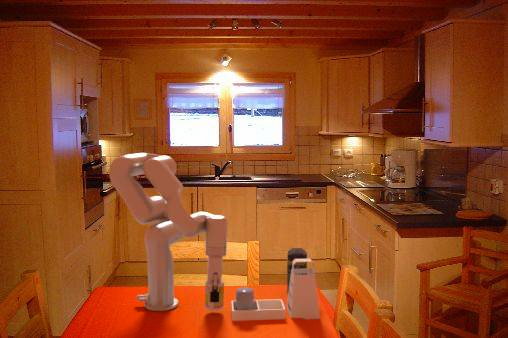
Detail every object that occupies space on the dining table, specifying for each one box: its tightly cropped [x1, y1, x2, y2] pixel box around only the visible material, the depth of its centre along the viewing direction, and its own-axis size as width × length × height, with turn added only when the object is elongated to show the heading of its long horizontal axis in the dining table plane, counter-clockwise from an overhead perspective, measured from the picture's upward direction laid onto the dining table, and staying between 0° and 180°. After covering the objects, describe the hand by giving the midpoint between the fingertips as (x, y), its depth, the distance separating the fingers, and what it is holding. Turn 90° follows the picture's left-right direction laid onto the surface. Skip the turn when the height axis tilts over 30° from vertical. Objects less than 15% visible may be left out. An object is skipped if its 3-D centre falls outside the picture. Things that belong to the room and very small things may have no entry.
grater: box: [285, 258, 321, 320], centre depth 190 cm, size 10×10×20 cm
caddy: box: [230, 298, 286, 322], centre depth 188 cm, size 19×10×4 cm, turn 95°
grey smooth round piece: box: [235, 286, 255, 310], centre depth 187 cm, size 6×6×9 cm
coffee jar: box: [286, 247, 308, 294], centre depth 208 cm, size 10×8×19 cm
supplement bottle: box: [204, 273, 225, 311], centre depth 188 cm, size 7×7×13 cm
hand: (214, 297), depth 189 cm, fingers closed on supplement bottle, 6 cm apart
